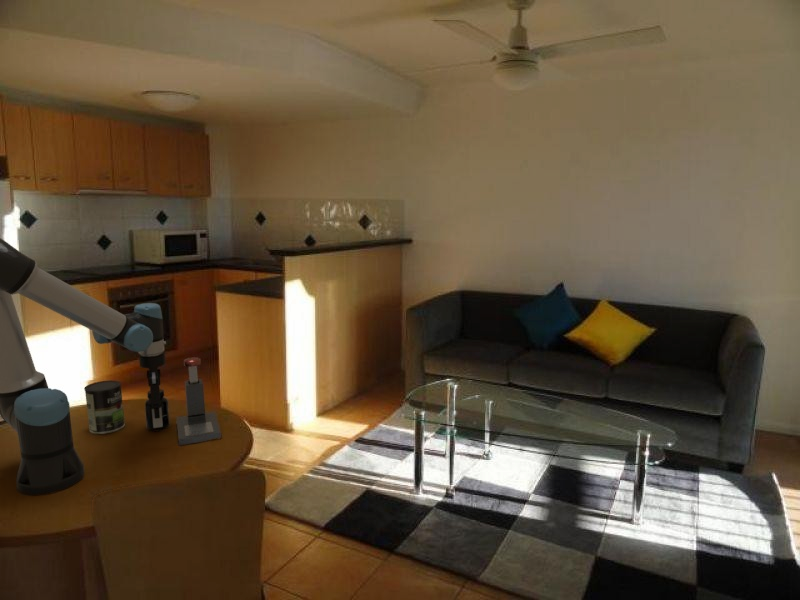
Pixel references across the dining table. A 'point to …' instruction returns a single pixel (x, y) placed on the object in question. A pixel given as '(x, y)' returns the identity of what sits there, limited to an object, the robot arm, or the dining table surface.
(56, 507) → the dining table surface
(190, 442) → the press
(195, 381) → the plunger
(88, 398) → the coffee can
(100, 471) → the dining table surface
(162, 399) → the supplement bottle
